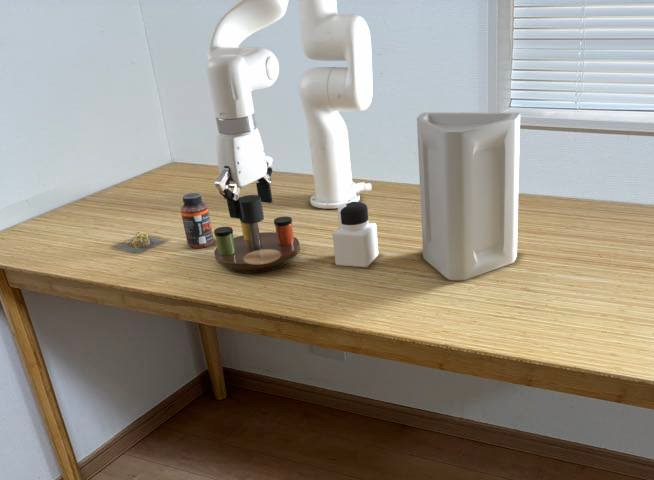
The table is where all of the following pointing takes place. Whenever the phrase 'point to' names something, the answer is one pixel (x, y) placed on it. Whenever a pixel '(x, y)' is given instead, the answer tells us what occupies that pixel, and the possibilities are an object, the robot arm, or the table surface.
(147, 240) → the dice set
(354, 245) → the medicine bottle
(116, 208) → the table surface
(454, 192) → the white triangular tub
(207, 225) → the supplement bottle
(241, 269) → the rack base
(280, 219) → the spice rack
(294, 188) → the table surface
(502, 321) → the table surface
